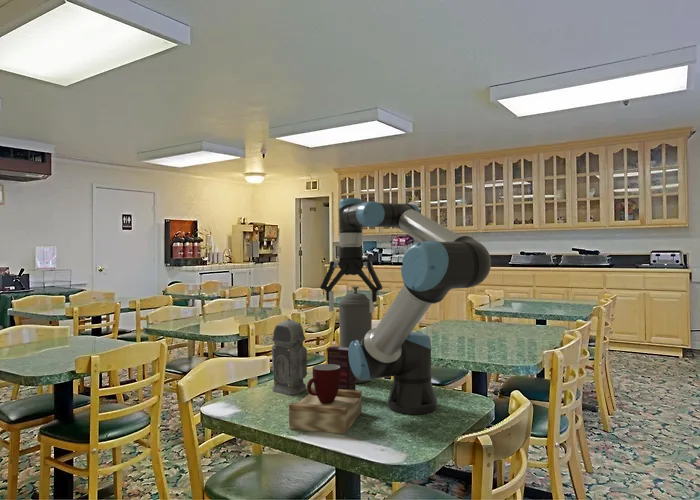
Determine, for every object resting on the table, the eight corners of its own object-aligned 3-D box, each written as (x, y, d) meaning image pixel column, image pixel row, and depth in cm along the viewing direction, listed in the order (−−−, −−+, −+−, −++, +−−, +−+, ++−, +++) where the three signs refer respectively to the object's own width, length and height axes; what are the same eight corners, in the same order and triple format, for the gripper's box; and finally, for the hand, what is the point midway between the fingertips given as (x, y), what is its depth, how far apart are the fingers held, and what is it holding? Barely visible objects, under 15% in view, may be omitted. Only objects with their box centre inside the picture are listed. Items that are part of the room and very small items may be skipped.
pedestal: (361, 412, 151) (361, 390, 151) (345, 433, 134) (344, 409, 134) (311, 408, 156) (311, 387, 155) (289, 428, 138) (288, 404, 138)
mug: (319, 409, 138) (319, 373, 138) (300, 403, 144) (300, 368, 144) (346, 401, 146) (346, 366, 146) (327, 395, 152) (327, 362, 151)
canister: (334, 383, 183) (334, 287, 183) (344, 374, 196) (343, 285, 196) (368, 385, 180) (368, 288, 180) (376, 376, 192) (375, 285, 192)
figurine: (296, 396, 168) (296, 321, 167) (265, 390, 176) (265, 318, 176) (314, 389, 176) (314, 318, 175) (284, 383, 184) (283, 315, 184)
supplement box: (356, 394, 170) (355, 347, 169) (349, 398, 165) (348, 350, 165) (334, 391, 174) (334, 345, 174) (326, 394, 170) (326, 347, 170)
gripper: (390, 246, 163) (391, 311, 164) (318, 246, 170) (318, 309, 170) (386, 246, 156) (386, 314, 156) (310, 246, 163) (311, 312, 163)
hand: (351, 311), depth 163 cm, fingers open, 13 cm apart
